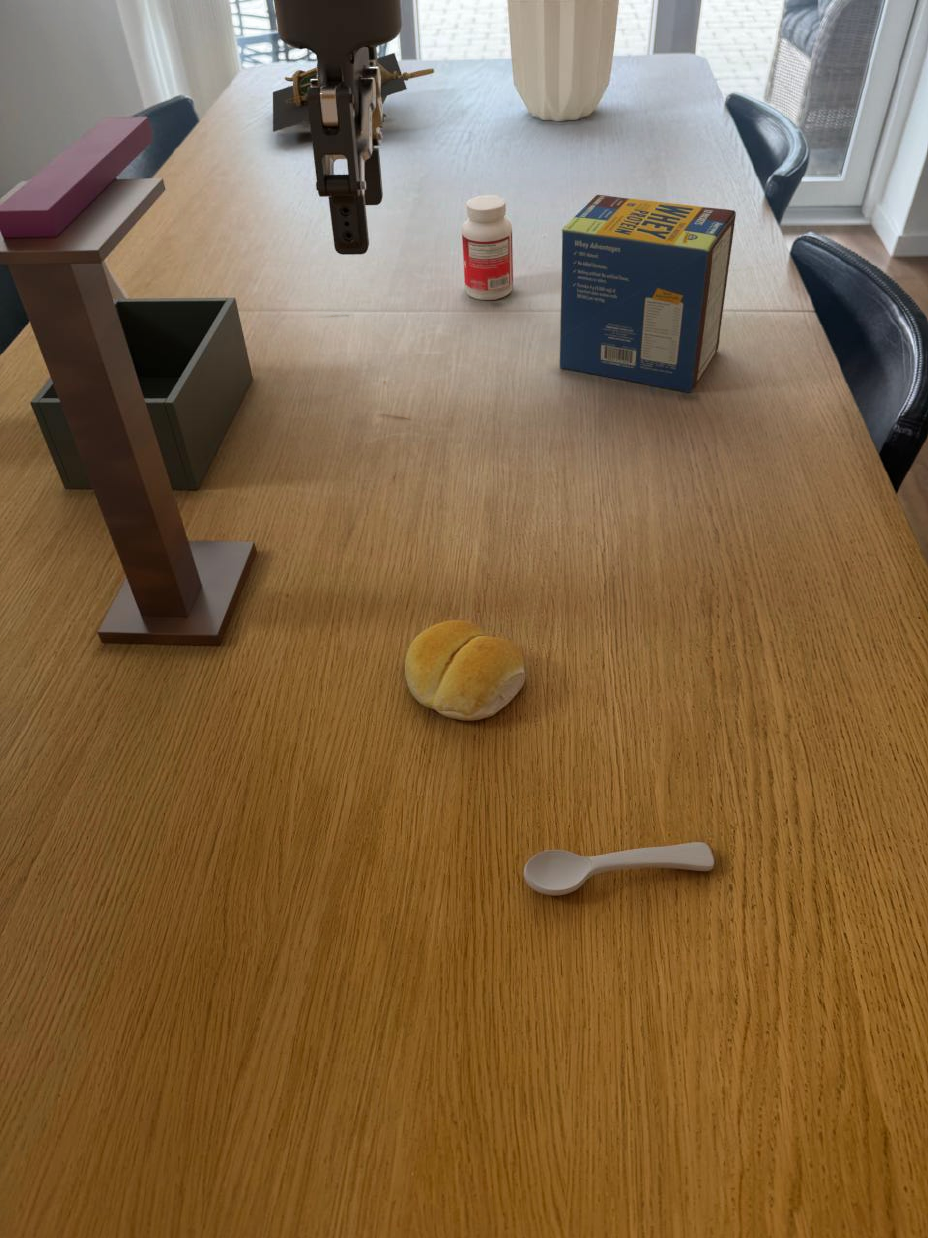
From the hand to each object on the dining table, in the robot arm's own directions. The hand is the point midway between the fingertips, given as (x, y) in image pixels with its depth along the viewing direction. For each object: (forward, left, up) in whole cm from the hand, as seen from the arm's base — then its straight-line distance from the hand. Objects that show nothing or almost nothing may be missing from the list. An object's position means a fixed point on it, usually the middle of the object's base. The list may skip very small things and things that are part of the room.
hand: (360, 226), depth 67 cm
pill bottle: (+4, +51, -28) cm, 59 cm away
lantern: (-26, +124, -28) cm, 130 cm away
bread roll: (+7, -17, -28) cm, 33 cm away
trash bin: (-28, +18, -28) cm, 43 cm away
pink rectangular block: (-18, -3, +4) cm, 18 cm away
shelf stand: (-18, -8, -28) cm, 34 cm away
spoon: (+18, -33, -28) cm, 47 cm away
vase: (+12, +126, -28) cm, 130 cm away
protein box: (+22, +33, -28) cm, 49 cm away
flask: (-43, +43, -28) cm, 67 cm away
